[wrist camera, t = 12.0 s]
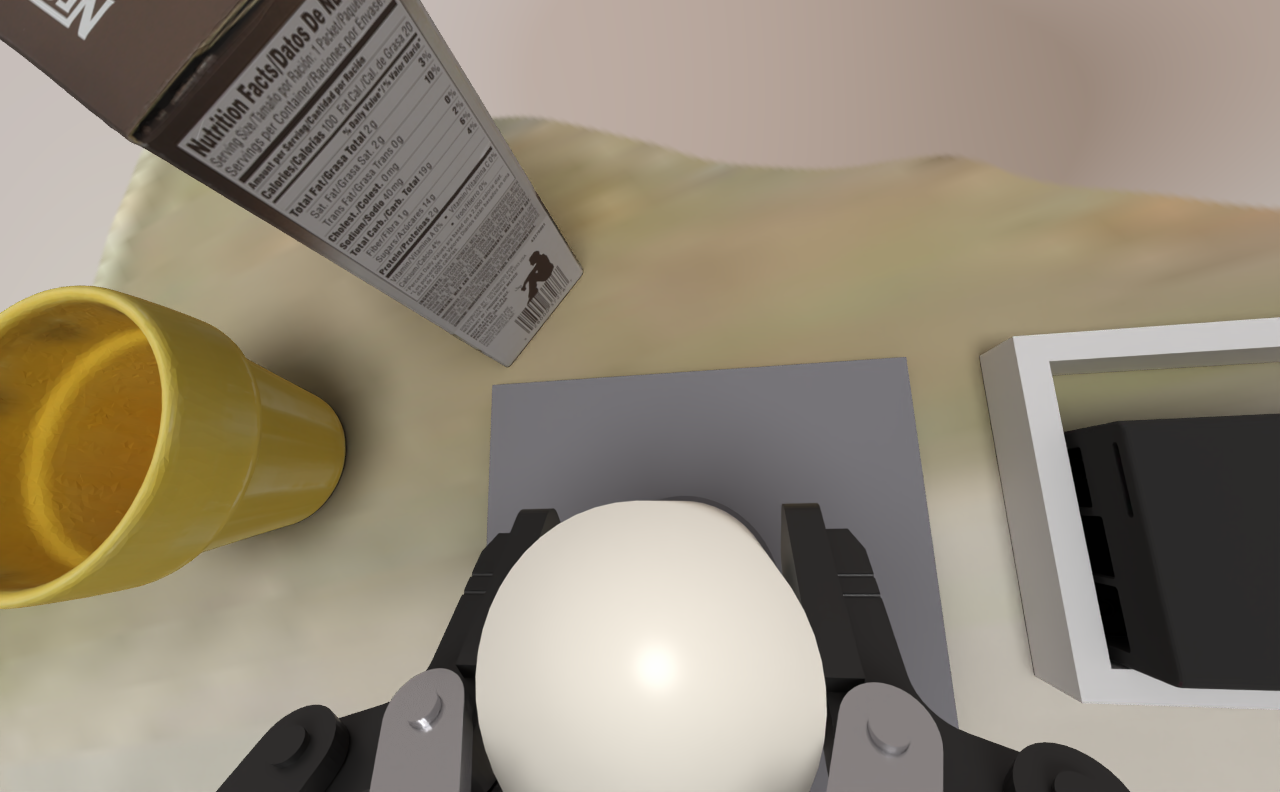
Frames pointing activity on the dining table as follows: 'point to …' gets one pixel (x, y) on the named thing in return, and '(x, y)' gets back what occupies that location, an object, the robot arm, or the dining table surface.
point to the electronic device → (1185, 545)
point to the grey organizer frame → (1048, 501)
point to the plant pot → (141, 445)
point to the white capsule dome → (650, 659)
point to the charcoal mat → (743, 469)
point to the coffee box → (325, 141)
